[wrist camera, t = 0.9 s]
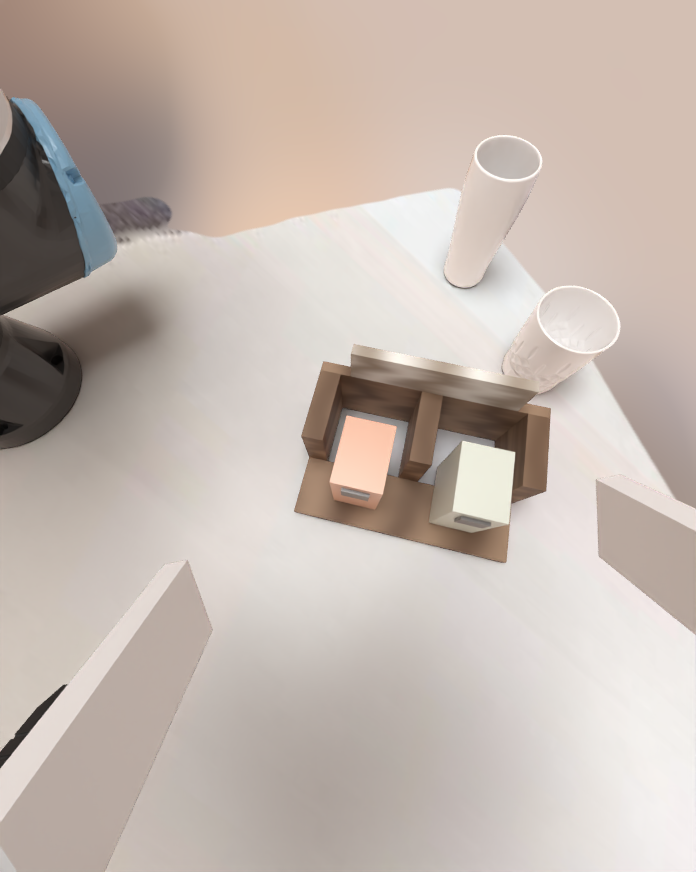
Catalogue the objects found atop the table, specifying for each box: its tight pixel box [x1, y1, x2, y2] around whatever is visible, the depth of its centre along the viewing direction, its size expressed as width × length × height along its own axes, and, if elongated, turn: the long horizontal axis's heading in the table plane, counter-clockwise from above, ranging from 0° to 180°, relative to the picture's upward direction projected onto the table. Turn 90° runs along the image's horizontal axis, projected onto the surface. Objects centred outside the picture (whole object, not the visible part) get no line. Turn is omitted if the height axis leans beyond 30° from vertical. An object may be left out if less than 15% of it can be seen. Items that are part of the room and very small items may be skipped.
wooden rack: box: [294, 344, 551, 562], centre depth 34 cm, size 22×14×12 cm, turn 77°
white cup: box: [502, 286, 620, 394], centre depth 39 cm, size 8×8×10 cm
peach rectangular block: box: [329, 416, 397, 510], centre depth 34 cm, size 4×6×9 cm
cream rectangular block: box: [429, 441, 515, 533], centre depth 33 cm, size 4×6×9 cm
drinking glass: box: [444, 135, 542, 288], centre depth 42 cm, size 7×7×15 cm
